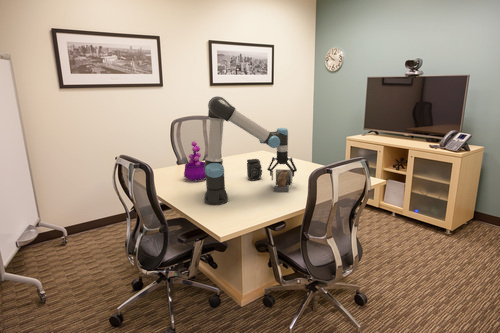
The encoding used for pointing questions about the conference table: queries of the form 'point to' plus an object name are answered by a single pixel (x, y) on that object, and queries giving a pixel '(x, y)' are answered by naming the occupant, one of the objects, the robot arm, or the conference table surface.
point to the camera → (254, 169)
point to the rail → (282, 179)
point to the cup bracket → (287, 175)
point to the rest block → (281, 189)
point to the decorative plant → (194, 165)
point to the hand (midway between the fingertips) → (282, 180)
